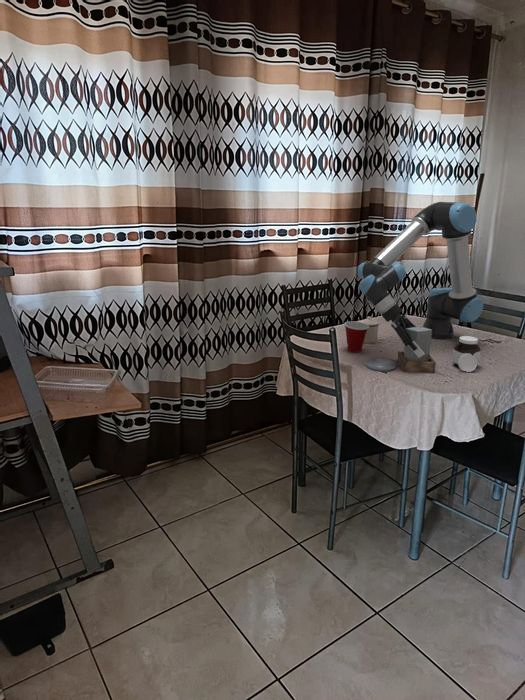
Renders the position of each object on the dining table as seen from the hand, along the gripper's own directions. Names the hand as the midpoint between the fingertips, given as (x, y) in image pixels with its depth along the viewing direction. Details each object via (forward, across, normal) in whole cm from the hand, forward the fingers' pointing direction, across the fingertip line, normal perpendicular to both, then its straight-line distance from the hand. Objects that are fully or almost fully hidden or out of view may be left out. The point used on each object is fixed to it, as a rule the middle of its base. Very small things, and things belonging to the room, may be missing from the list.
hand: (424, 352), depth 194 cm
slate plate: (-6, +7, -15) cm, 18 cm away
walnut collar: (+2, 0, -7) cm, 7 cm away
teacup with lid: (-18, -24, -27) cm, 40 cm away
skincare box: (+3, 0, -7) cm, 7 cm away
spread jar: (+15, -8, +6) cm, 19 cm away
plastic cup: (-17, -8, -27) cm, 33 cm away
